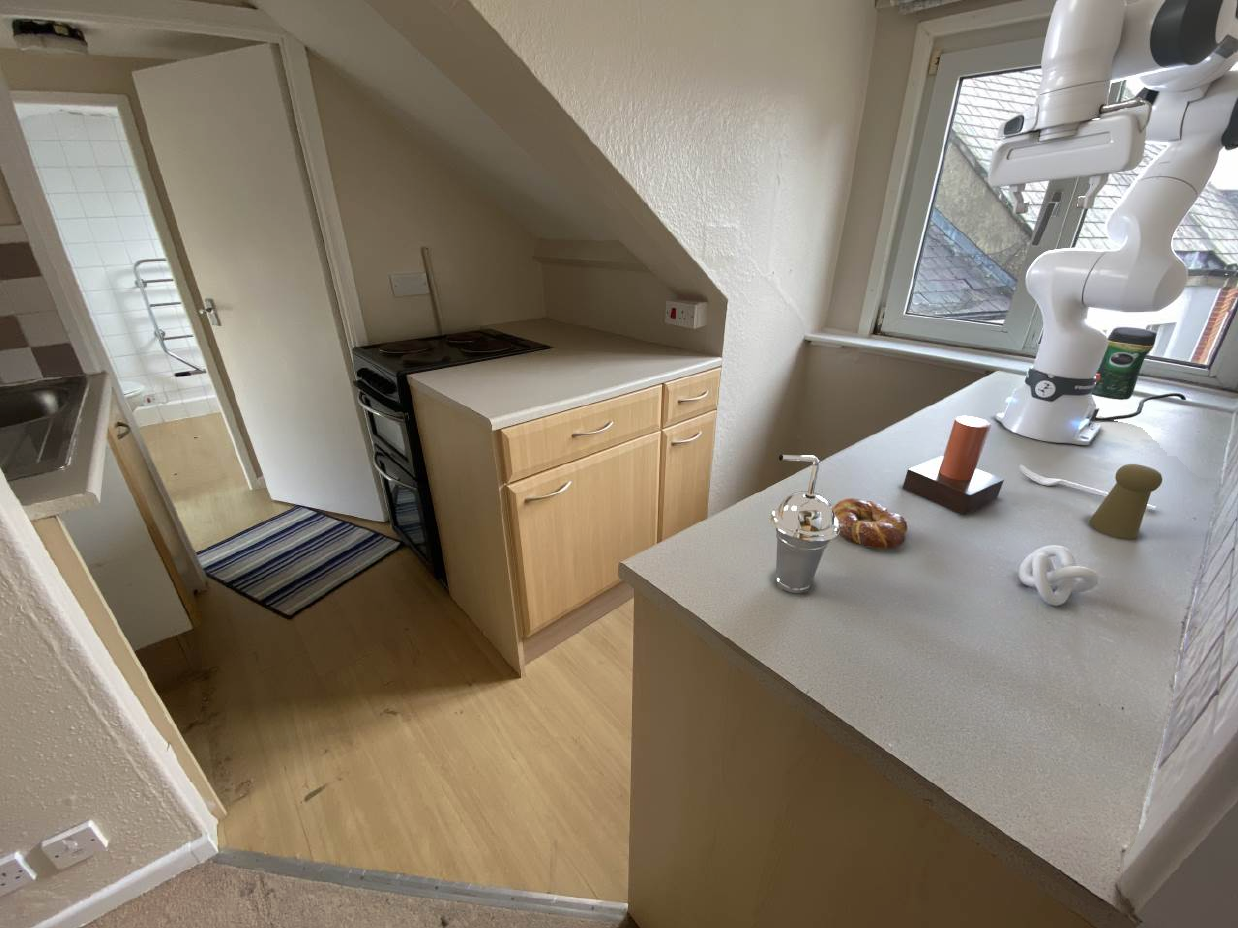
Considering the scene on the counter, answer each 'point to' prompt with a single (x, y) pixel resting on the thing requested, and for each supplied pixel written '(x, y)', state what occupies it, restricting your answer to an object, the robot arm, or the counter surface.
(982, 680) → the counter surface
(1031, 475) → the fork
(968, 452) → the canister
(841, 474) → the counter surface
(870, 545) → the pretzel
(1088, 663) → the counter surface
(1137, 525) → the cork
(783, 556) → the cup with straw
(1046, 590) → the knot
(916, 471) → the stand
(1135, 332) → the coffee jar
